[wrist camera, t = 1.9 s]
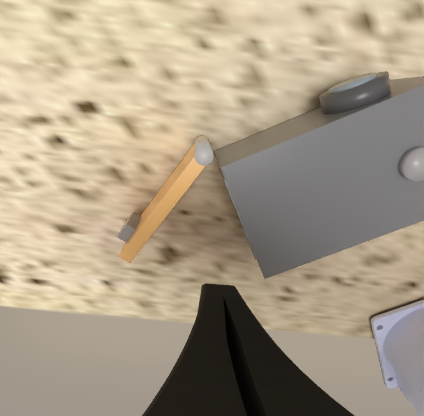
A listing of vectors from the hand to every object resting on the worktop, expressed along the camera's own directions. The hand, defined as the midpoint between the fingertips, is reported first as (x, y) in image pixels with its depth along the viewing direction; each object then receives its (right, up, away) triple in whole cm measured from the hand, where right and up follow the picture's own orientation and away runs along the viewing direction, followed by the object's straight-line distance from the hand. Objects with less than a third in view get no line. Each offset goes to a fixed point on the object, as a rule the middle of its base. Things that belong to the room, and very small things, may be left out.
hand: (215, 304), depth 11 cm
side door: (-3, +6, +6) cm, 9 cm away
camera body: (+6, +7, +7) cm, 11 cm away
